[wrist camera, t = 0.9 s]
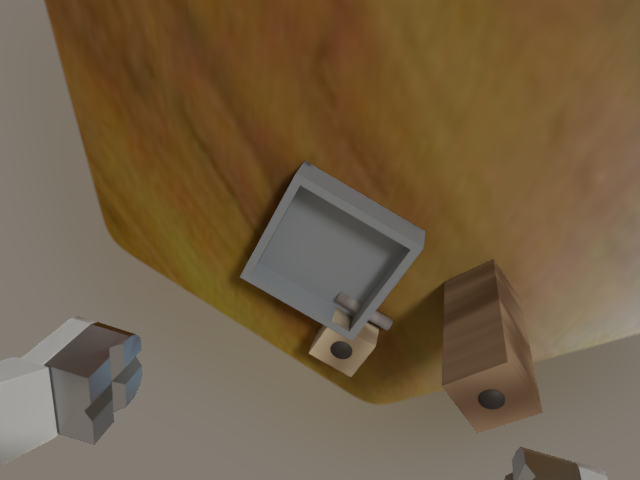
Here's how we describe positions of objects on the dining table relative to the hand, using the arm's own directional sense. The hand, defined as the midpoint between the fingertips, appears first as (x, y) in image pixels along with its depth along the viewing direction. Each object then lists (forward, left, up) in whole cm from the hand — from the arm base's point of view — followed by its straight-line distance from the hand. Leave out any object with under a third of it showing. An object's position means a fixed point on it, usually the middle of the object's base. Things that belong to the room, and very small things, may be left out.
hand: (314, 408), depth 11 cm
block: (+16, -13, -36) cm, 41 cm away
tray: (+2, -17, -36) cm, 40 cm away
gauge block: (+8, -25, -36) cm, 44 cm away
